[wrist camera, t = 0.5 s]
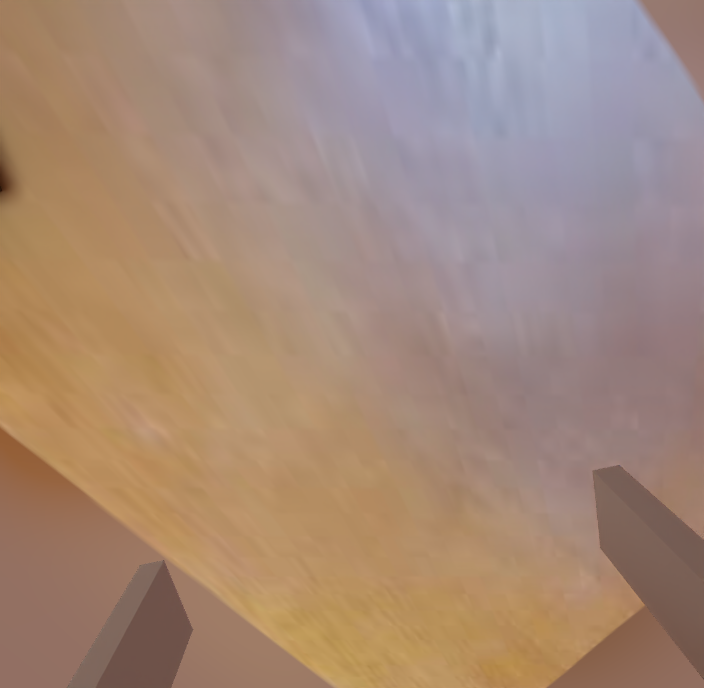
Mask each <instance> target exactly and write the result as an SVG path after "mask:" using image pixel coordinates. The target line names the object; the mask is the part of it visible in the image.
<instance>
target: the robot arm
mask: <svg viewBox="0 0 704 688" xmlns="http://www.w3.org/2000/svg"><path fill="white" fill-rule="evenodd" d="M593 478H594V488H595V498H596V508H597V519H598V529H599V539H600V548H601V549H602V551H603V552H604V553H605V554H606V556H607V557H608V558H609V560H610V561H611V562H612V563H613V565H614V566H615V567H616V568H617V570H618V571H619V572H620V574H621V575H622V576H623V577H624V579H625V580H626V581H627V582H628V584H629V585H630V586H631V588H632V589H633V590H634V591H635V593H636V594H637V595H638V597H639V598H640V599H641V600H642V602H643V603H644V604H645V605H646V607H647V608H648V609H649V611H650V612H651V613H652V614H653V615H654V617H655V618H656V619H657V621H658V622H659V623H660V624H661V626H662V627H663V628H664V630H665V631H666V632H667V634H668V635H669V636H670V637H671V639H672V640H673V641H674V642H675V644H676V645H677V646H678V647H679V648H680V650H681V651H682V653H683V654H684V655H685V656H686V658H687V659H688V660H689V662H690V663H691V664H692V665H693V667H694V668H695V669H696V670H697V672H698V673H699V674H700V676H701V677H702V678H703V679H704V540H703V539H702V538H701V537H700V536H699V535H697V534H696V533H695V532H694V531H693V530H692V529H691V528H689V527H688V526H687V525H686V524H685V523H684V522H683V521H682V520H680V519H679V518H678V517H677V516H676V515H675V514H674V513H673V512H671V511H670V510H669V509H668V508H667V507H666V506H665V505H664V504H662V503H661V502H660V501H659V500H658V499H657V498H656V497H655V496H653V495H652V494H651V493H650V492H649V491H648V490H647V489H645V488H644V487H643V486H642V485H641V484H640V483H639V482H638V481H636V480H635V479H634V478H633V477H632V476H631V475H630V474H629V473H627V472H626V471H625V470H624V469H623V468H622V467H621V466H620V465H617V466H613V467H608V468H603V469H598V470H593ZM192 631H193V629H192V626H191V624H190V621H189V619H188V617H187V614H186V612H185V609H184V607H183V605H182V602H181V600H180V597H179V595H178V593H177V590H176V588H175V586H174V583H173V581H172V578H171V576H170V573H169V571H168V569H167V566H166V564H165V562H164V560H163V561H158V562H153V563H148V564H144V565H140V566H139V568H138V570H137V571H136V573H135V575H134V576H133V578H132V580H131V582H130V583H129V585H128V586H127V588H126V590H125V591H124V593H123V595H122V596H121V598H120V600H119V602H118V603H117V605H116V606H115V608H114V610H113V611H112V613H111V615H110V616H109V618H108V620H107V621H106V623H105V625H104V626H103V628H102V630H101V631H100V633H99V635H98V637H97V638H96V640H95V641H94V643H93V645H92V646H91V648H90V650H89V651H88V653H87V655H86V656H85V658H84V660H83V661H82V663H81V665H80V666H79V668H78V670H77V671H76V673H75V675H74V676H73V678H72V680H71V681H70V683H69V685H68V687H67V688H171V687H172V684H173V681H174V679H175V676H176V673H177V671H178V668H179V665H180V663H181V660H182V657H183V654H184V652H185V649H186V646H187V644H188V641H189V639H190V636H191V633H192Z"/></svg>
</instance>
